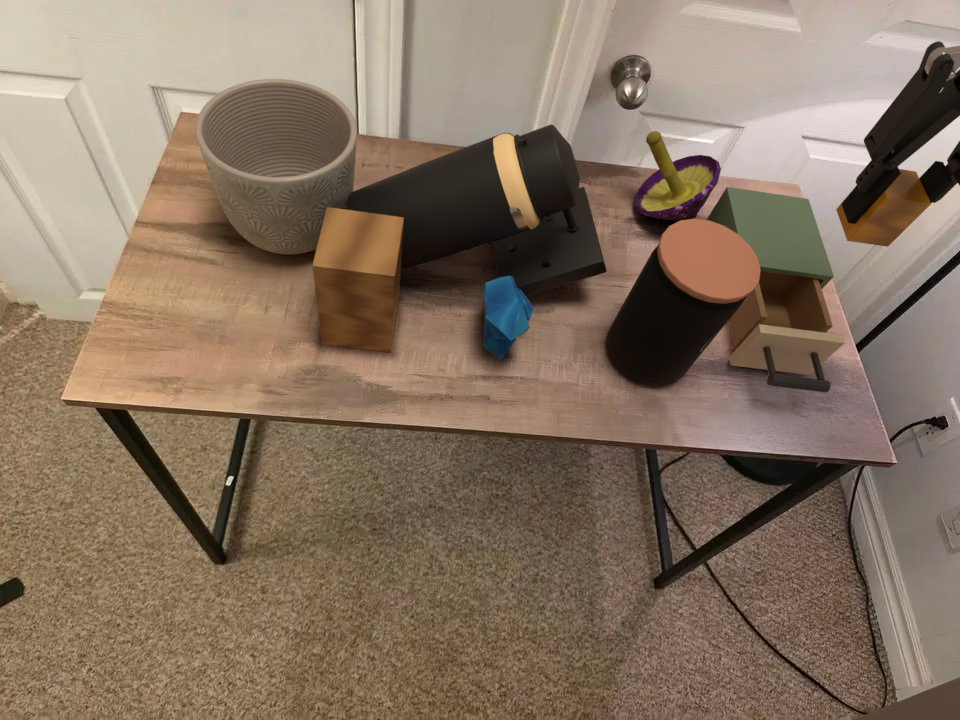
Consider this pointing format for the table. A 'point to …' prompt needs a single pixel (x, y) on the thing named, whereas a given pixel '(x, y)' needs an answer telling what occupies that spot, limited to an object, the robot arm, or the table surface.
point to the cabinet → (776, 231)
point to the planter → (278, 159)
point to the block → (889, 212)
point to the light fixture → (496, 209)
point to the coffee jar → (682, 300)
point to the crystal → (504, 315)
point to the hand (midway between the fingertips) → (872, 216)
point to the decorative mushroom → (676, 183)
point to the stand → (358, 278)
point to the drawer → (785, 331)
